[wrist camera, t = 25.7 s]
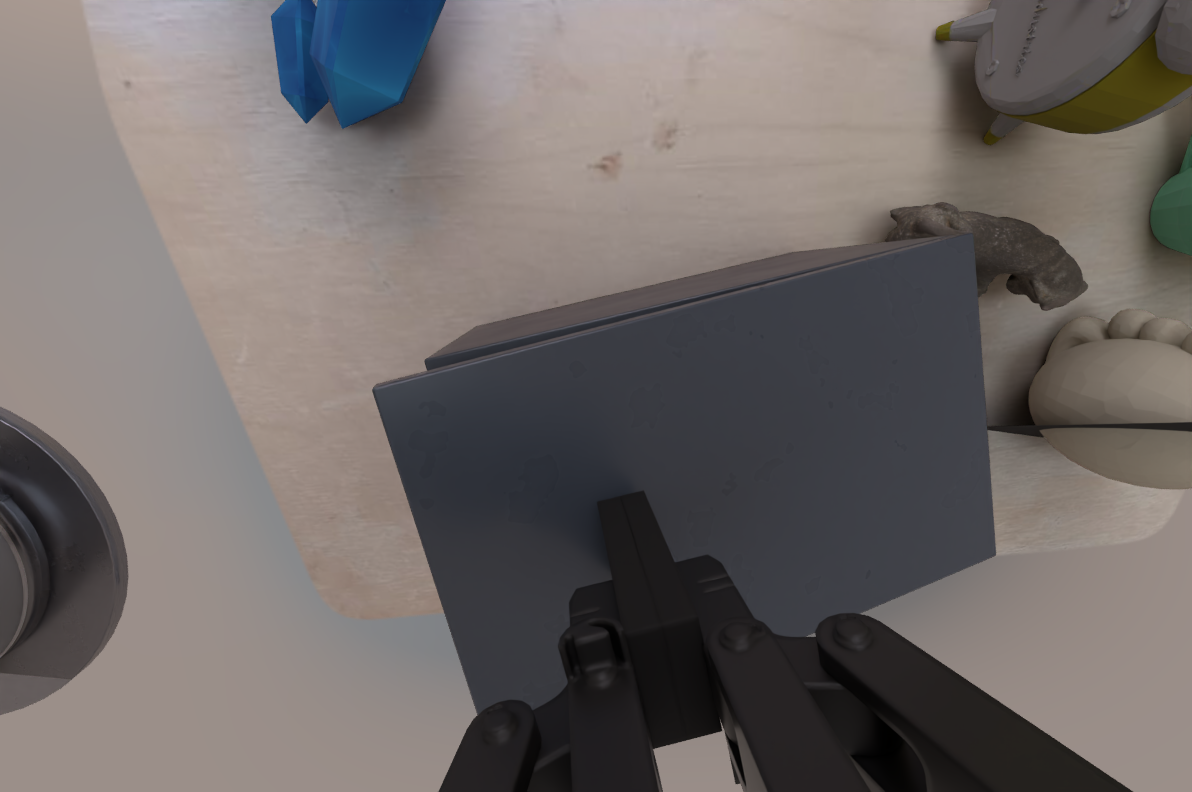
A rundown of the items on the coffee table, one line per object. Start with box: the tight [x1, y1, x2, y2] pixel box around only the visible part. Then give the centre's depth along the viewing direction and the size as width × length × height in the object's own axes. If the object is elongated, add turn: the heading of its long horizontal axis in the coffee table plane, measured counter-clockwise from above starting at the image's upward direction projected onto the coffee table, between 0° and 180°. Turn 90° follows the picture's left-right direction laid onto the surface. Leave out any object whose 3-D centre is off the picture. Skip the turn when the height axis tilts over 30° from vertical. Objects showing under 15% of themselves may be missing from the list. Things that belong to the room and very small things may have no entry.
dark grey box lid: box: [372, 233, 996, 715], centre depth 19 cm, size 21×13×1 cm, turn 103°
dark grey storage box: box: [425, 235, 953, 371], centre depth 28 cm, size 20×13×14 cm, turn 103°
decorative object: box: [987, 309, 1192, 489], centre depth 32 cm, size 13×10×10 cm
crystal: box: [271, 0, 446, 129], centre depth 26 cm, size 7×9×12 cm
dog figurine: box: [885, 202, 1088, 311], centre depth 31 cm, size 12×6×7 cm, turn 76°
